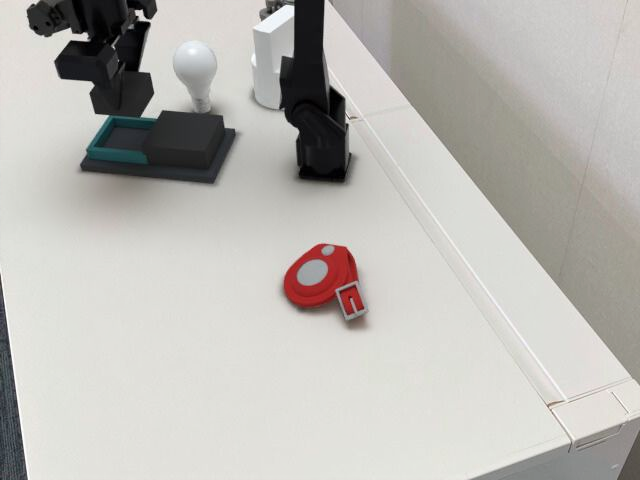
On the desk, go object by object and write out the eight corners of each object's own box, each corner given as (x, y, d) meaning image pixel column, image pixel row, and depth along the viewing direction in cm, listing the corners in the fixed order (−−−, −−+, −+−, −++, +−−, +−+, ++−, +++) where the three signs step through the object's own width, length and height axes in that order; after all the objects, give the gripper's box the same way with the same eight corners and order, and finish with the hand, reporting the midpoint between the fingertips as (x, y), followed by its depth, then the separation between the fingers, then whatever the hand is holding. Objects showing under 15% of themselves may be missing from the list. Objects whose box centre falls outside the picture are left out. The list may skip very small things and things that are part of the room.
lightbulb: (221, 124, 115) (210, 54, 107) (178, 123, 115) (164, 53, 107) (226, 101, 119) (216, 32, 111) (185, 100, 119) (172, 32, 111)
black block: (154, 93, 102) (150, 72, 99) (140, 118, 98) (135, 96, 95) (111, 90, 102) (105, 68, 100) (94, 114, 98) (88, 93, 96)
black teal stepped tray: (235, 134, 113) (232, 110, 110) (213, 183, 105) (208, 158, 102) (112, 123, 115) (106, 99, 112) (81, 170, 107) (73, 145, 104)
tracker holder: (266, 295, 89) (302, 229, 93) (281, 317, 93) (315, 252, 97) (357, 311, 83) (391, 240, 87) (369, 334, 87) (401, 265, 91)
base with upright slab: (276, 73, 125) (270, -1, 116) (323, 88, 121) (321, 13, 112) (243, 99, 119) (234, 23, 110) (291, 115, 116) (286, 38, 107)
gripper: (58, -65, 94) (90, 56, 106) (-11, 3, 82) (34, 131, 94) (146, -60, 93) (168, 62, 105) (89, 10, 81) (122, 139, 93)
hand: (124, 96), depth 99 cm, fingers closed on black block, 6 cm apart
